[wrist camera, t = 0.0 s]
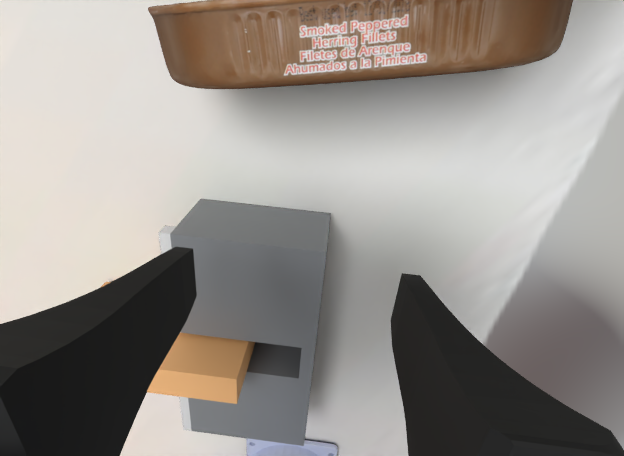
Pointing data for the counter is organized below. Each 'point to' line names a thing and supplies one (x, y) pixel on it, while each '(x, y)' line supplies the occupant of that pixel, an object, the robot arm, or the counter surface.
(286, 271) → the dispenser
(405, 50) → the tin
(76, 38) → the counter surface
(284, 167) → the counter surface
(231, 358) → the orange rectangular block
